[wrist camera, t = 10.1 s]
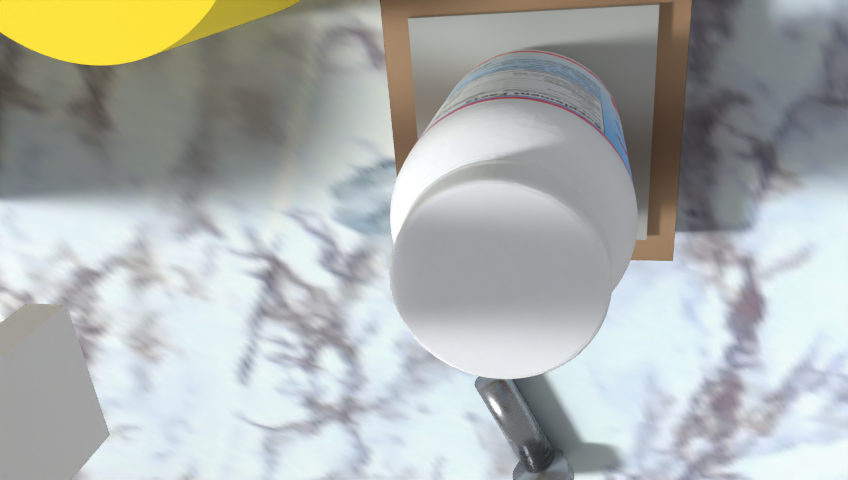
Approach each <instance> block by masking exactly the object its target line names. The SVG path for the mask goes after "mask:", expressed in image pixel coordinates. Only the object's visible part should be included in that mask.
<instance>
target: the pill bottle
mask: <svg viewBox="0 0 848 480" xmlns="http://www.w3.org/2000/svg"><path fill="white" fill-rule="evenodd" d="M390 221H391V232H392V238H393V242H394V246H393V250H392V255H391V260H390V286H391V291H392V295H393V299H394V302H395V305H396V307H397V310H398V312H399V314H400V316H401V319H402V321H403V322H404V324H405V325H406V327H407V328H408V330H409V331H410V332H411V334H412V335H413V336H414V338H415V339H416V340H417V341H418V342H419V343H420V344H421V345H422V346H423V347H424V348H425V349H426V350H428V351H429V352H430V353H431V354H433V355H434V356H435V357H437V358H438V359H440V360H442V361H443V362H445V363H447V364H448V365H450V366H452V367H454V368H457V369H459V370H461V371H464V372H467V373H470V374H474V375H477V376H481V377H487V378H495V379H518V378H526V377H531V376H536V375H540V374H543V373H546V372H549V371H551V370H554V369H556V368H558V367H560V366H562V365H564V364H565V363H567V362H569V361H570V360H572V359H573V358H574V357H576V356H577V355H578V354H580V353H581V352H582V351H583V350H584V348H585V347H586V346H587V345H588V344H589V343H590V342H591V341H592V339H593V338H594V337H595V335H596V334H597V332H598V331H599V329H600V328H601V326H602V323H603V321H604V319H605V317H606V314H607V311H608V308H609V304H610V300H611V292H612V291H613V290H614V289H615V287H616V286H617V285H618V283H619V282H620V280H621V279H622V277H623V275H624V273H625V271H626V269H627V267H628V265H629V262H630V260H631V257H632V254H633V250H634V247H635V243H636V236H637V229H638V211H637V201H636V194H635V190H634V185H633V181H632V175H631V169H630V165H629V160H628V154H627V149H626V145H625V139H624V135H623V130H622V124H621V120H620V116H619V113H618V110H617V107H616V104H615V102H614V99H613V98H612V96H611V94H610V92H609V91H608V89H607V88H606V86H605V85H604V84H603V82H602V81H601V80H600V79H599V78H598V77H597V76H596V75H595V74H594V73H593V72H592V71H591V70H589V69H588V68H587V67H585V66H584V65H582V64H580V63H579V62H577V61H575V60H573V59H571V58H568V57H566V56H563V55H560V54H556V53H553V52H547V51H541V50H515V51H509V52H505V53H502V54H499V55H496V56H493V57H491V58H489V59H487V60H485V61H483V62H482V63H480V64H478V65H477V66H476V67H474V68H473V69H472V70H471V71H469V72H468V73H467V74H466V75H465V76H464V77H463V78H462V79H461V80H460V81H459V83H458V84H457V85H456V86H455V88H454V89H453V90H452V92H451V93H450V95H449V96H448V98H447V99H446V101H445V102H444V103H443V105H442V106H441V108H440V109H439V110H438V112H437V113H436V115H435V116H434V118H433V119H432V121H431V122H430V124H429V125H428V127H427V128H426V129H425V131H424V132H423V134H422V135H421V137H420V138H419V140H418V141H417V142H416V144H415V145H414V147H413V148H412V150H411V151H410V153H409V155H408V156H407V158H406V160H405V162H404V164H403V166H402V168H401V170H400V172H399V174H398V177H397V180H396V182H395V186H394V190H393V194H392V201H391V211H390Z"/></svg>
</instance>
